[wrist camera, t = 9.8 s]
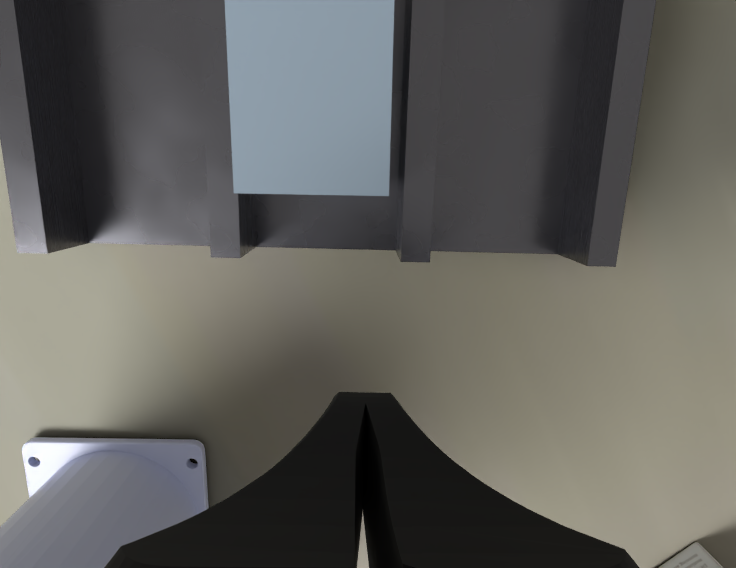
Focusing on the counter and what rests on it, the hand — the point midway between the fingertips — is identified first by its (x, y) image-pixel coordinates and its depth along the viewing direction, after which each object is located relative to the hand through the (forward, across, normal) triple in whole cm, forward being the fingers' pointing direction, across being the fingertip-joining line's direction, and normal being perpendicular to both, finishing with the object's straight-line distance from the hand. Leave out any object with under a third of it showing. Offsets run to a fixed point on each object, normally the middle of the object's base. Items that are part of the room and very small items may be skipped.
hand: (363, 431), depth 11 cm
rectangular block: (+8, +2, -9) cm, 12 cm away
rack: (+9, +2, -9) cm, 13 cm away
